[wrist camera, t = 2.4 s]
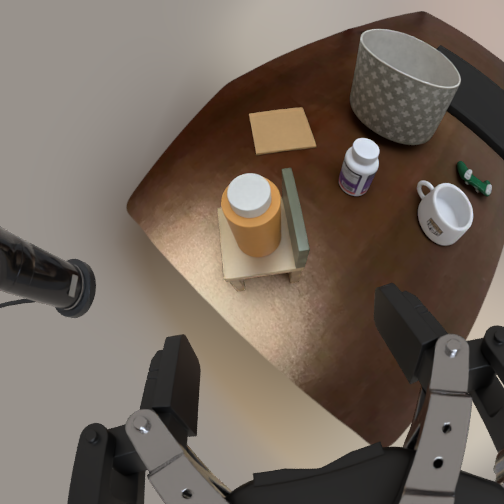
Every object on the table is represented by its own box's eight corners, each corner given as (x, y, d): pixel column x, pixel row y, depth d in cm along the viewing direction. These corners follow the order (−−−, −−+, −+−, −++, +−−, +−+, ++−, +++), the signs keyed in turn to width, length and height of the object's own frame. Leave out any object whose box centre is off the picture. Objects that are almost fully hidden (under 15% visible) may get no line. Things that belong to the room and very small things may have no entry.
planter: (365, 82, 52) (378, 21, 35) (435, 120, 47) (463, 64, 30) (332, 122, 49) (343, 47, 31) (417, 170, 43) (456, 104, 26)
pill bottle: (363, 170, 44) (377, 134, 35) (371, 196, 43) (389, 162, 34) (335, 171, 45) (344, 134, 36) (341, 197, 43) (353, 163, 34)
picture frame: (511, 104, 49) (438, 49, 58) (514, 99, 47) (440, 45, 56) (506, 162, 42) (406, 84, 52) (510, 157, 40) (408, 77, 49)
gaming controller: (451, 174, 44) (458, 177, 40) (458, 159, 43) (465, 161, 38) (482, 196, 42) (491, 202, 37) (489, 182, 40) (498, 186, 35)
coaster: (256, 155, 47) (256, 153, 47) (249, 115, 51) (248, 113, 51) (316, 147, 47) (316, 146, 46) (302, 108, 50) (302, 107, 50)
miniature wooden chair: (237, 294, 40) (210, 265, 25) (231, 237, 43) (204, 181, 28) (299, 285, 39) (309, 249, 24) (288, 228, 42) (291, 167, 27)
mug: (466, 226, 39) (483, 212, 33) (441, 258, 38) (460, 246, 32) (425, 179, 43) (437, 161, 37) (397, 205, 42) (410, 187, 36)
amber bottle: (238, 260, 31) (219, 224, 22) (234, 219, 33) (215, 171, 23) (284, 253, 31) (285, 214, 21) (277, 212, 32) (274, 161, 23)
